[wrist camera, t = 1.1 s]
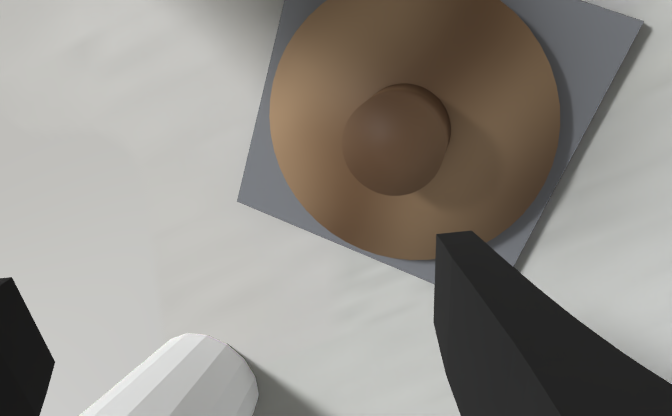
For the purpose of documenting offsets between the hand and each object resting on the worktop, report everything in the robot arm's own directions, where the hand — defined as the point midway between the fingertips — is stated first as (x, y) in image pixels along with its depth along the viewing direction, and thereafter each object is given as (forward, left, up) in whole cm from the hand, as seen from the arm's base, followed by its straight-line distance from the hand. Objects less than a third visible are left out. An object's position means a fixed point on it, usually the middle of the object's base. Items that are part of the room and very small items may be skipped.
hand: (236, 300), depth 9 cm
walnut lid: (-1, -1, -11) cm, 12 cm away
